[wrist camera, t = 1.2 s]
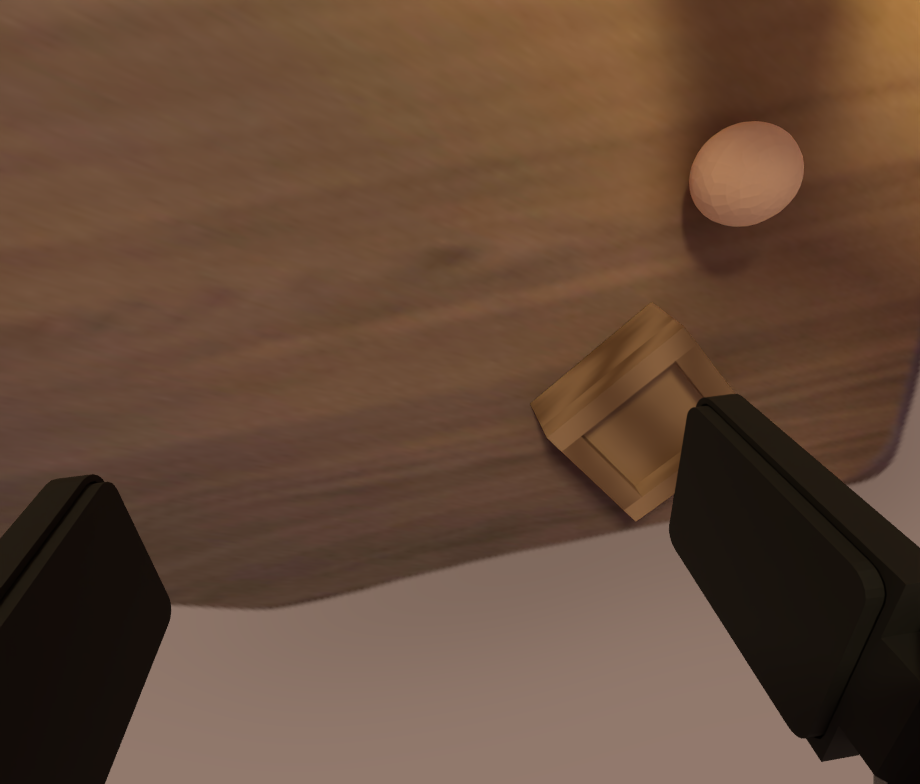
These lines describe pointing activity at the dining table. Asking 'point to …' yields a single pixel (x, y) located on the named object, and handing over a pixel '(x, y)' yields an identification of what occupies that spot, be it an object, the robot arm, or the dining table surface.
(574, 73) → the dining table surface
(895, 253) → the dining table surface
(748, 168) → the egg
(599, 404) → the base
